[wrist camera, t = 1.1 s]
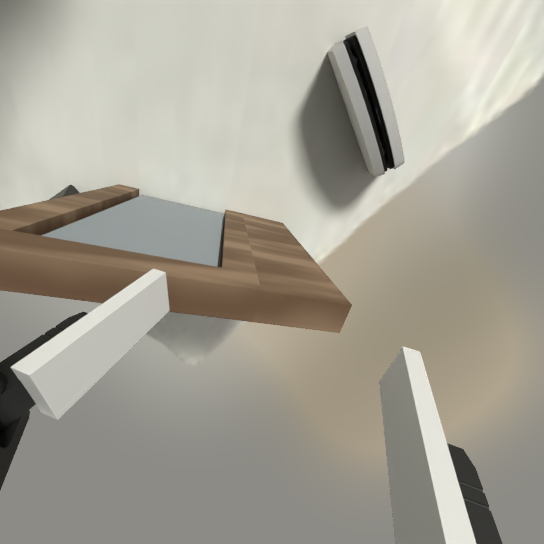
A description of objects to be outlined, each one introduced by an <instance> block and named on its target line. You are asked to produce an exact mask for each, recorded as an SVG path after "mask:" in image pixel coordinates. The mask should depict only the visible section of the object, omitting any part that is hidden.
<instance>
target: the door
mask: <svg viewBox="0 0 544 544" xmlns="http://www.w3.org/2000/svg"><path fill="white" fill-rule="evenodd" d="M222 221H223V213H219V212H214V211H210V210H206V209H201V208H197V207H193V206H188V205H184V204H180V203H175V202H171V201H167V200H162V199H158V198H154V197H149V196H145V195H141V196H139V197H136V198H134V199H131V200H129V201H126V202H124V203H121V204H119V205H116V206H114V207H111V208H109V209H106V210H104V211H101V212H99V213H96V214H94V215H91V216H89V217H86V218H84V219H81V220H79V221H76V222H74V223H71V224H69V225H66V226H64V227H61V228H59V229H56V230H54V231H51V232H49V233H46V234H44V235H41V236H46V237H51V238H57V239H63V240H68V241H74V242H80V243H85V244H91V245H97V246H102V247H108V248H114V249H119V250H125V251H131V252H136V253H142V254H148V255H153V256H159V257H165V258H170V259H176V260H182V261H188V262H193V263H199V264H205V265H210V266H216V267H217V265H218V256H219V247H220V239H221V230H222Z"/></svg>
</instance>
